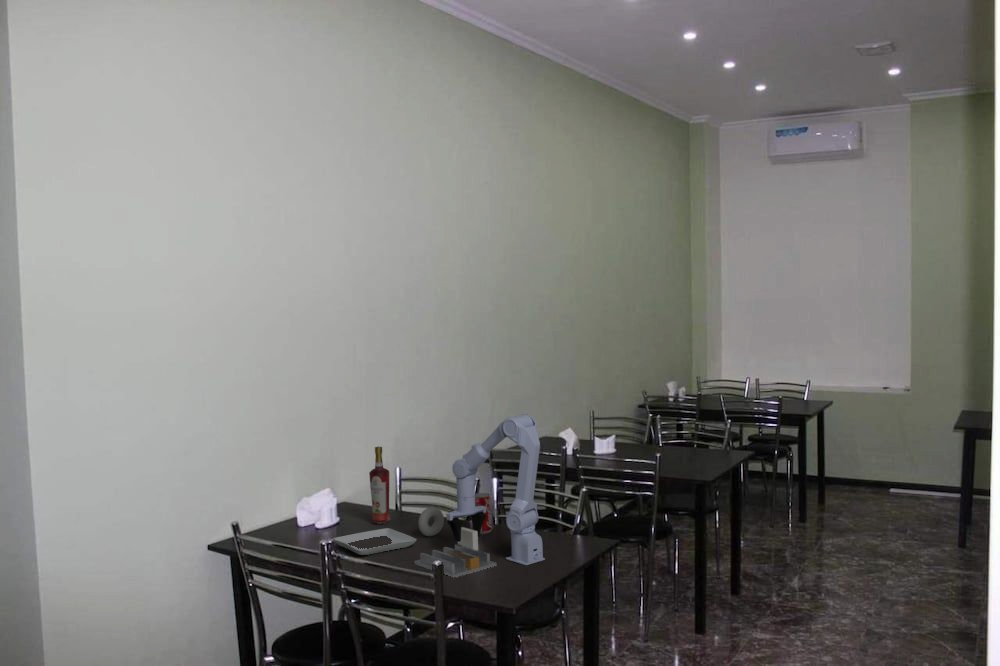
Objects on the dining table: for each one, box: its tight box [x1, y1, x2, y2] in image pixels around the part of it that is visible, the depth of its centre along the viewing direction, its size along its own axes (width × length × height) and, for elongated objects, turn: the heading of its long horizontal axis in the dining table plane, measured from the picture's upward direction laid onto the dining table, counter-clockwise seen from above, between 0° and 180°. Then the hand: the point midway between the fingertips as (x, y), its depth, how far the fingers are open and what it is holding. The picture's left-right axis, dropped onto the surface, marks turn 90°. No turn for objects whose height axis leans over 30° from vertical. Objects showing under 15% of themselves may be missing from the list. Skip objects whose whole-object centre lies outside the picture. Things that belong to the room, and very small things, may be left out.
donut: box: [417, 506, 445, 537], centre depth 292 cm, size 10×4×10 cm, turn 129°
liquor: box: [369, 446, 391, 522], centre depth 313 cm, size 7×7×28 cm
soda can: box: [471, 492, 493, 535], centre depth 295 cm, size 7×7×13 cm
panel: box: [457, 526, 479, 550], centre depth 272 cm, size 8×2×7 cm, turn 40°
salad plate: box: [332, 527, 417, 556], centre depth 281 cm, size 21×21×3 cm
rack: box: [413, 543, 497, 579], centre depth 257 cm, size 20×16×4 cm
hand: (467, 538), depth 272 cm, fingers open, 7 cm apart
